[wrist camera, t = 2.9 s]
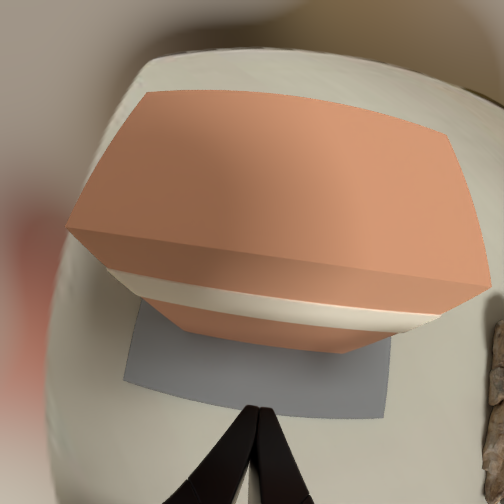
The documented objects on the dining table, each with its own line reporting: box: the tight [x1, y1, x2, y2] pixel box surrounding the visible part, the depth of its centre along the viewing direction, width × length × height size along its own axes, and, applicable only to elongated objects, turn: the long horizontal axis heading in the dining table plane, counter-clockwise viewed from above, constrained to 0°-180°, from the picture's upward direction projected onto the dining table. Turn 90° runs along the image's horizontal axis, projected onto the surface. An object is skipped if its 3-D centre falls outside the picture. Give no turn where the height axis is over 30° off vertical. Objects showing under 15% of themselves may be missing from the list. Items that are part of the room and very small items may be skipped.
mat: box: [123, 298, 391, 419], centre depth 19 cm, size 22×16×1 cm
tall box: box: [65, 90, 492, 354], centre depth 11 cm, size 5×10×12 cm, turn 81°
